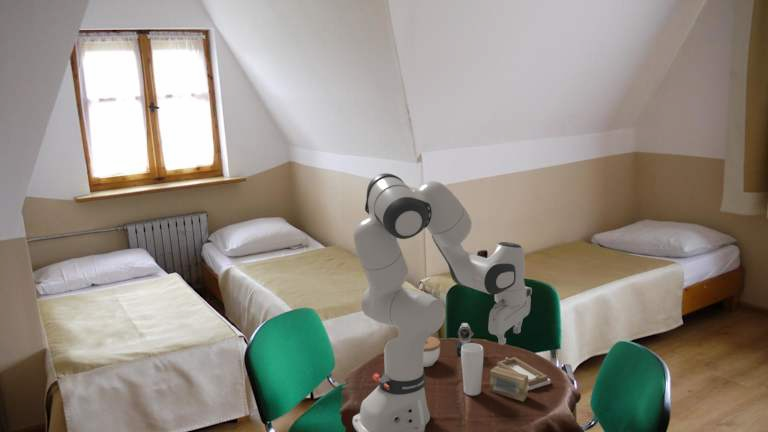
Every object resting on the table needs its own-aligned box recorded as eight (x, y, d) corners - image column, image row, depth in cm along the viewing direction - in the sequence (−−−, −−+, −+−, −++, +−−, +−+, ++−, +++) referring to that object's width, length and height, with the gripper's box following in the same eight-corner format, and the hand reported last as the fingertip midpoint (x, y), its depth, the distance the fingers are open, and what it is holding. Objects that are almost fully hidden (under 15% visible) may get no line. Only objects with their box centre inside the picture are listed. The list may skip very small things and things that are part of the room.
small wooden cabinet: (525, 391, 189) (526, 380, 188) (494, 370, 203) (494, 360, 202) (550, 383, 194) (550, 372, 193) (517, 363, 207) (517, 353, 207)
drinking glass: (482, 398, 186) (482, 352, 182) (460, 396, 187) (460, 351, 184) (483, 387, 192) (483, 343, 189) (462, 386, 194) (461, 342, 190)
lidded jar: (405, 358, 214) (404, 333, 212) (434, 354, 217) (433, 329, 215) (415, 372, 204) (414, 346, 202) (445, 367, 207) (444, 341, 205)
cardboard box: (522, 401, 183) (522, 380, 182) (489, 391, 190) (489, 371, 188) (527, 396, 186) (528, 375, 185) (495, 387, 193) (495, 366, 191)
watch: (457, 358, 213) (457, 328, 211) (457, 348, 221) (456, 319, 219) (473, 358, 213) (473, 329, 210) (472, 348, 220) (472, 320, 218)
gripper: (502, 308, 171) (502, 353, 174) (534, 286, 187) (534, 328, 190) (482, 304, 175) (483, 348, 178) (515, 283, 190) (515, 324, 194)
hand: (509, 338), depth 184 cm, fingers open, 8 cm apart
